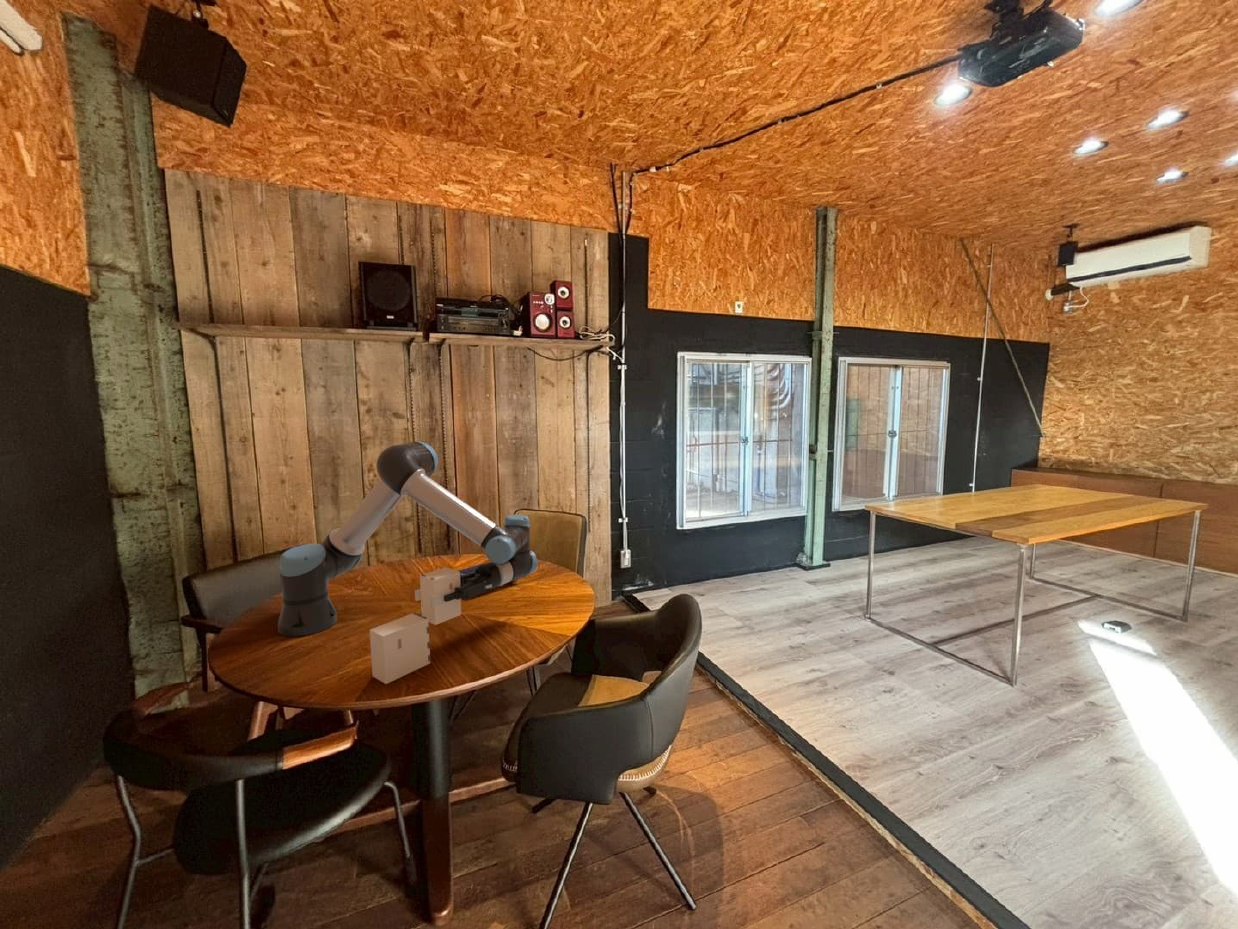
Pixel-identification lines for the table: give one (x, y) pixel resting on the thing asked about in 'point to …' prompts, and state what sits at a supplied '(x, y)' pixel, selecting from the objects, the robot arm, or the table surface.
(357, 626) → the table surface
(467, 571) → the navy flat slab
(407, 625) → the white slotted block
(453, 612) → the stub
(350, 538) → the robot arm
